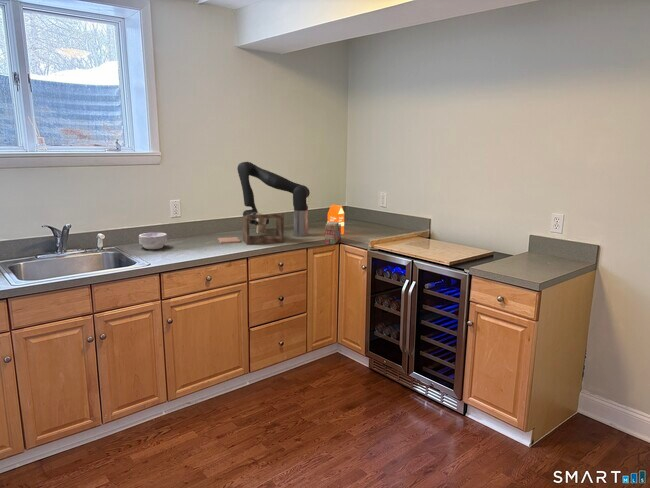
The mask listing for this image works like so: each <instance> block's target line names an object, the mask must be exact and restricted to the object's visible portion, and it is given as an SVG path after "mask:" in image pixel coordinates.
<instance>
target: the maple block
mask: <svg viewBox="0 0 650 488" xmlns="http://www.w3.org/2000/svg"><path fill="white" fill-rule="evenodd" d="M262 214H266V213H264V212H260V213H259V212H258V213H256V215H262ZM266 219H267V218H256V220H257V221H258V225H257V224H256V225H255V226H256V228H255V229H256V230H255V231H256V233H257V234H267V225H266Z"/></svg>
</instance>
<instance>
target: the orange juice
mask: <svg viewBox="0 0 650 488" xmlns="http://www.w3.org/2000/svg"><path fill="white" fill-rule="evenodd" d="M329 221H331V222H339V224H341V234H342V235H344V234H345V233H344V232H345V211H344V208H343V206H342V205H337V204H331V205H330V207H329V210H328V212H327V223H328V222H329ZM327 223H326V224H327Z"/></svg>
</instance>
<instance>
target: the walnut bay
mask: <svg viewBox="0 0 650 488" xmlns="http://www.w3.org/2000/svg"><path fill="white" fill-rule="evenodd" d="M284 217H285V216H284V213H270V214H269V213H268V214H267V213H265V214H262V215H246V216H243V215H242V241H243V242H244V243H245V244H246V245H248V246H249V245H266V244H268V245H269V244H283V243H284V238H285V237H284V233H285V232H284V231H285V230H284V228H285V227H284V225H285V221H284V220H285V218H284ZM252 218H266V219H267V218H269V219H274V218H275V219H276V222H275V226H276V228H275V229H276V231H275V232H276V233H275V234H260V235H259V234H257V235H250V223H249V219H252Z"/></svg>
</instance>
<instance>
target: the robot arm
mask: <svg viewBox="0 0 650 488" xmlns="http://www.w3.org/2000/svg"><path fill="white" fill-rule="evenodd" d="M236 170H237V173H238V177H239V180H240V185H241V190H242V195H243V205H244V206H245V207H247V208H248V207H250V208H251V209H246V210H243V212H242V217H243V216H246V215H256V213H259V211H258V209H257V206H256V204H255V195H254V191H253V188H252V186H251V183H250V177H254V178H257V179H258V180H260V181H261V182H262V183H264V184H265V185H267V186H269V187H270V188H273V189H276V190H278V191H284V192H287V193H290V194H292V205H293V236H295V237H306V236H307V237H308V236H309V226H310V225H309V222H310V221H308V220H309V216H308V214H309V210H308V209H309V206H308V205H307V198H308V197H309V196H310V189H309V188H308V187H307V186H306V185H304V184H300V183H297V182H293V181H292V180H289V179H287V178H286V177H283V176H282V175H279V174H277V173H274V172H271V171H270V170H266V169H264V168H262V167H260V166H257V165H256V164H254V163H252V162H250V161H243V162H240V163H238V165H237V169H236ZM256 224H257V225H258V221H257V220H256V218H252V219H249V225H254V226H256ZM268 224H270V218H266V226H267V225H268Z"/></svg>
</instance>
